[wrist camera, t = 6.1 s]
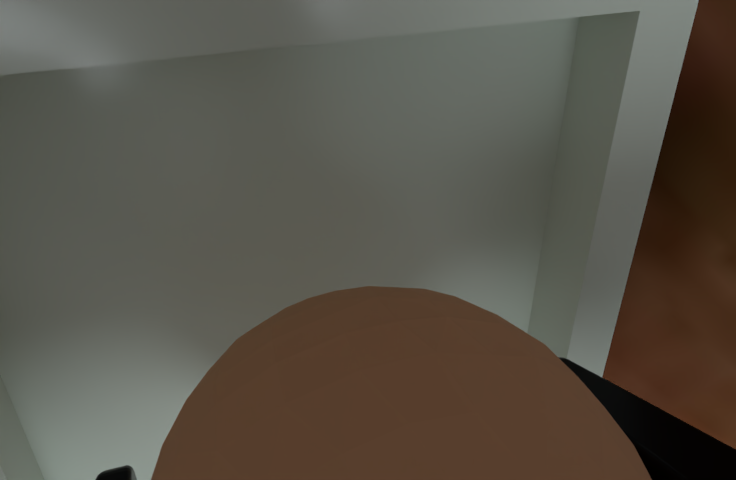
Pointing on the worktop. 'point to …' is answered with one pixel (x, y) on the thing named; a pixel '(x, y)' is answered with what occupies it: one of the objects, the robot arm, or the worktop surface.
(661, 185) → the worktop surface
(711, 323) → the worktop surface
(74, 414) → the dish
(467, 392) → the egg
